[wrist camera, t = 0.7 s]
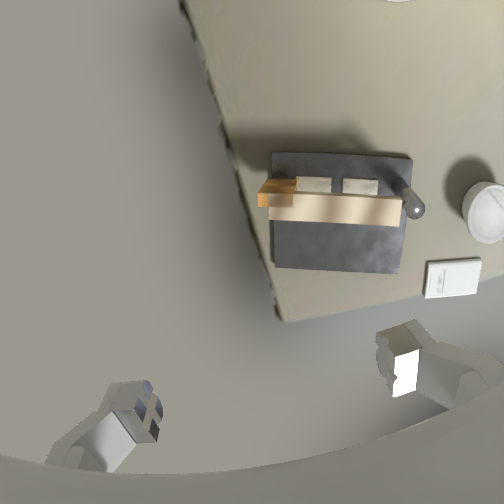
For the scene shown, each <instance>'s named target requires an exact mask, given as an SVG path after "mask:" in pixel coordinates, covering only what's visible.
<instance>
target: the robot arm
mask: <svg viewBox="0 0 504 504" xmlns="http://www.w3.org/2000/svg"><path fill="white" fill-rule="evenodd" d="M387 1H394V2H403V1H409V0H387ZM376 343H377V345H378V346H379V348H378V350H377V351H376V360H377V365H378V368H379V371H380V373H381V375H382V376H383V377H385V378H387V386H388V388H389V389H390V391H391V393H392V395H393V397H395V396H397V395H401V394H404V393H407V392H410V391H412V390H415V389H416V391H418V392H420V393H421V394H423V395H425V396H427V397H428V398H431V399H432V400H434V401H436V402H438V403H439V404H441V405H443V406H445V407H447V408H448V409H450V410H448V411H446V412H444V413H442V414H439V415H437V416H435V417H433V418H430V419H428V420H425V421H423V422H421V423H418V424H416V425H413V426H410V427H408V428H405V429H403V430H400V431H397V432H395V433H392V434H389V435H386V436H383V437H380V438H377V439H374V440H371V441H368V442H365V443H362V444H358V445H355V446H352V447H348V448H344V449H341V450H337V451H333V452H329V453H326V454H321V455H317V456H313V457H308V458H304V459H300V460H294V461H289V462H284V463H279V464H273V465H267V466H260V467H253V468H246V469H238V470H228V471H218V472H205V473H187V474H130V473H128V474H127V473H113V472H114V471H115V469H116V468H117V467H118V466H119V465H120V463H121V462H122V461H123V460H124V459H125V458H126V456H127V455H128V454H129V453H130V452H131V451H132V449H133V448H134V447H135V446H136V443H155V442H157V439H158V435H159V430H160V429H159V427H158V426H157V424H158V423H159V422H160V421H161V420H162V417H163V408H162V404H161V401H160V399H159V398H158V396H156V395H155V394H153V393H152V390H153V387H152V385H151V384H150V382H149V381H147V380H143V381H130V382H118V383H112V384H110V386H109V387H108V389H107V392H106V394H105V396H104V398H103V401H102V403H101V405H100V407H99V409H98V412H93V413H92V414H91V415H89V416H88V417H87V418H86V419H84V420H83V421H82V422H80V423H79V424H78V425H77V426H75V427H74V428H73V429H72V430H70V431H69V432H68V433H66V434H65V435H64V436H63V437H61V438H60V439H59V440H57V441H56V442H55V443H54V444H53V446H52V448H51V451H50V453H49V455H48V457H47V459H46V461H45V463H44V464H42V463H37V462H33V461H28V460H23V459H19V458H15V457H11V456H7V455H3V454H0V504H504V367H503V366H502V365H501V364H500V363H499V362H498V361H497V360H496V359H495V358H494V357H490V356H487V355H483V354H480V353H476V352H473V351H469V350H466V349H462V348H459V347H456V346H453V345H449V344H446V343H443V342H439V343H437V342H436V341H435V340H434V339H433V338H432V337H431V336H430V334H429V333H428V332H427V331H426V330H425V329H424V328H423V326H422V325H421V324H420V323H419V322H418V321H417V320H415V319H414V320H411V321H408V322H406V323H403V324H401V325H398V326H395V327H392V328H389V329H386V330H383V331H380V332H377V333H376Z"/></svg>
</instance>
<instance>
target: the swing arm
mask: <svg viewBox="0 0 504 504" xmlns="http://www.w3.org/2000/svg"><path fill="white" fill-rule="evenodd" d="M258 207H269V220H285V221H308V222H329V223H348V224H365V225H381V226H396V227H399V224H400V216H401V208H402V199H401V197H395V196H382V195H367V194H350V193H331V192H308V191H298V180H297V179H267V180H266V181H265V183H264V184H263V186H262V187H261V189H260V190H259V192H258Z"/></svg>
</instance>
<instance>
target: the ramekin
mask: <svg viewBox="0 0 504 504" xmlns="http://www.w3.org/2000/svg"><path fill="white" fill-rule="evenodd" d="M462 214H463V217H464V220H465V222H466V225H467V228H468V230H469V232H470V234H471V235H472V236H473V237H474V238H475V239H476V240H477V241H479V242H481V243H486V244H488V243H494V242H497V241H499V240H500V239H502V238H503V237H504V186H503V185H501V184H498V183H491V182H479V183H477V184H475V185H474V186H472V187H471V188H470V189H469V190H468V192H467V193H466V195H465V197H464V200H463V204H462Z"/></svg>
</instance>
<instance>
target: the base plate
mask: <svg viewBox="0 0 504 504" xmlns="http://www.w3.org/2000/svg"><path fill="white" fill-rule="evenodd" d="M412 166H413V160H412V159H410V158H400V157H389V156H376V155H363V154H346V153H325V152H278V151H273V152H272V179H297V180H298V191H308V192H331V193H350V194H367V195H382V196H395V197H401V199H402V208H401V216H400V224H399V227H396V226H381V225H365V224H348V223H329V222H308V221H285V220H274V257H275V267H276V268H292V269H309V270H327V271H345V272H364V273H383V274H398V268H399V263H400V258H401V252H402V246H403V240H404V234H405V227H406V220H407V216H408V217H409V218H411V219H418V218H420V217H422V216H423V214H424V212H425V205H424V203H423V202H422V201H421V199H420V198H419V197H418V196H417V195H416V193H415V192H414V191H413V190H412V189H411V177H412Z"/></svg>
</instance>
